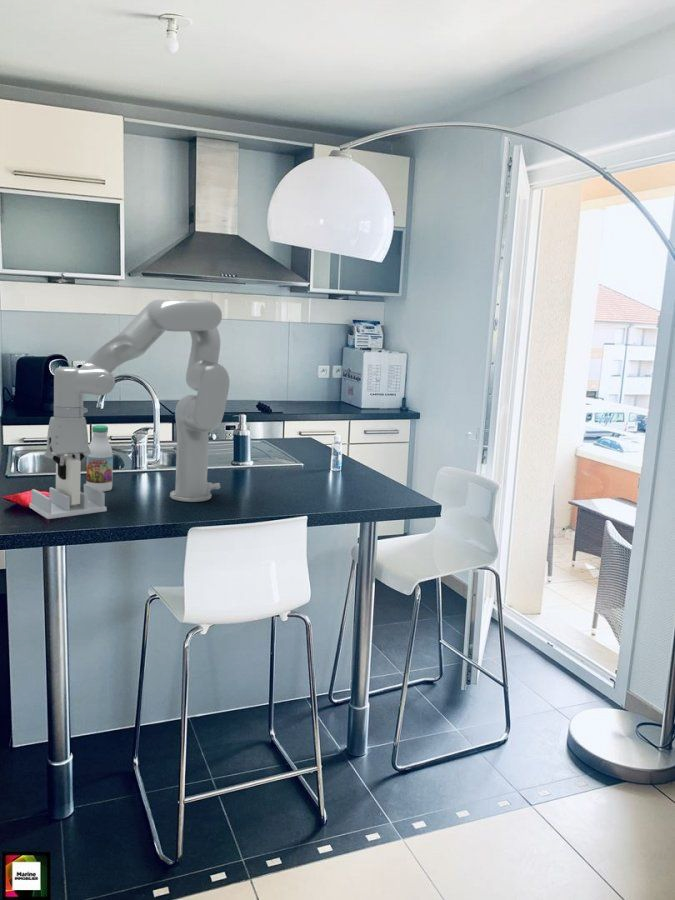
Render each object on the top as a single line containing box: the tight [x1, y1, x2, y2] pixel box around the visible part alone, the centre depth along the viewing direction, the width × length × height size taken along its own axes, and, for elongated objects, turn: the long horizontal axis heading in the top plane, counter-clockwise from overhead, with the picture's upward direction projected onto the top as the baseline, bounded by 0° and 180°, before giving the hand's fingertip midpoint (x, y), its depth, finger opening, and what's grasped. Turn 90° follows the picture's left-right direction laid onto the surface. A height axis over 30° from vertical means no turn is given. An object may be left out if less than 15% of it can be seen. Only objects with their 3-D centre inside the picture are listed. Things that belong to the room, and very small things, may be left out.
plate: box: [55, 454, 82, 505], centre depth 207 cm, size 2×11×12 cm, turn 42°
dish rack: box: [28, 483, 108, 520], centre depth 208 cm, size 17×13×5 cm
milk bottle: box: [85, 424, 114, 492], centre depth 230 cm, size 8×8×20 cm
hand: (67, 477), depth 207 cm, fingers closed on plate, 2 cm apart
